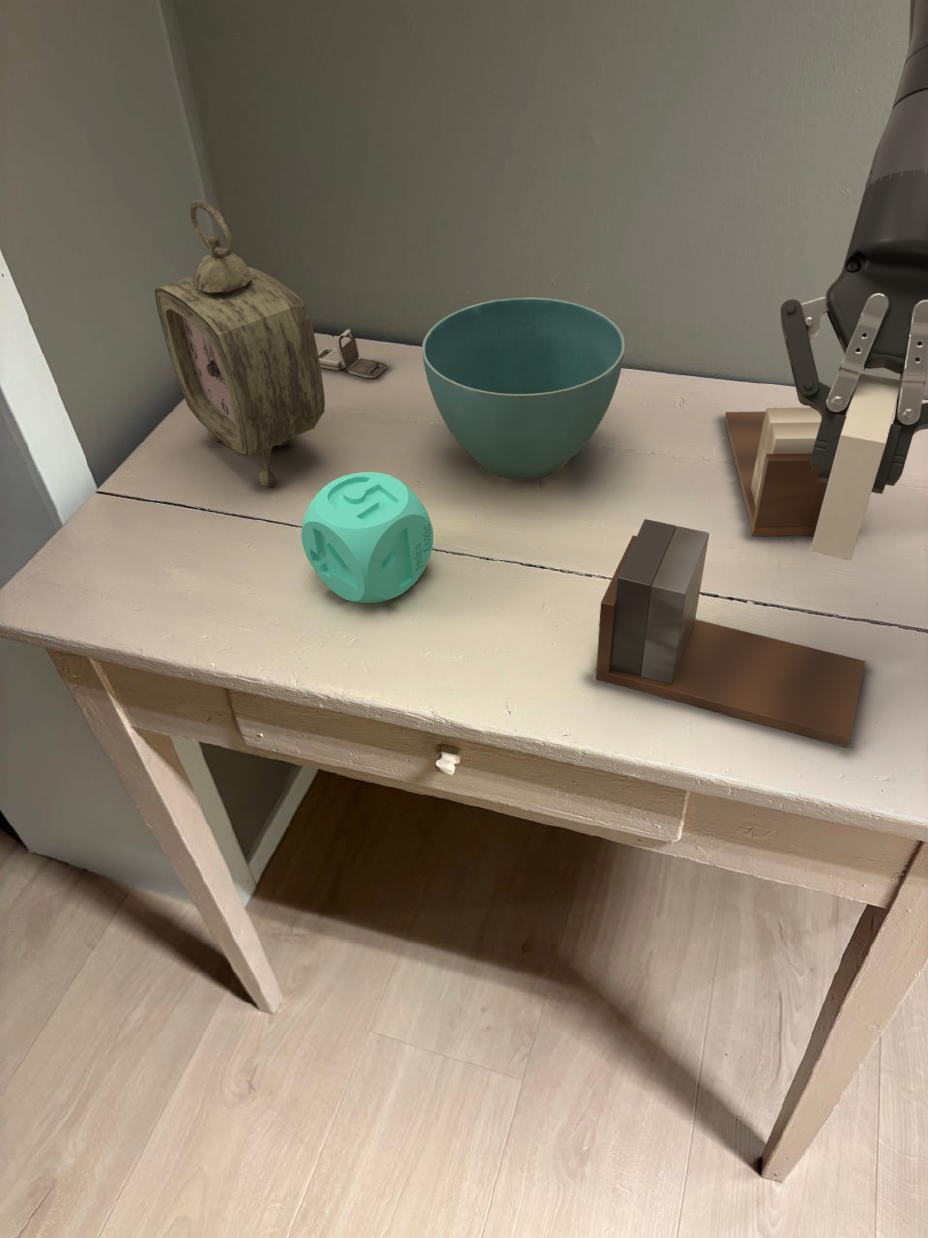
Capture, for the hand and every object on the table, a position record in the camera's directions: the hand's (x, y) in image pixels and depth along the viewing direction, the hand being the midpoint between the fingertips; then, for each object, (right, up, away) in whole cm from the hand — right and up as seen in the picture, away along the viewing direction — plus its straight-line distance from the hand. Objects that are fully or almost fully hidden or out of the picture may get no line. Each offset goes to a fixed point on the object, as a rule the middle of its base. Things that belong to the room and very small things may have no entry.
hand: (850, 484), depth 57 cm
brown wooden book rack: (+7, +6, +34) cm, 35 cm away
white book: (+1, -2, +4) cm, 5 cm away
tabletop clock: (-43, +9, +41) cm, 60 cm away
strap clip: (-36, +21, +53) cm, 67 cm away
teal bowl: (-17, +8, +38) cm, 43 cm away
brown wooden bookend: (-3, -12, +16) cm, 20 cm away
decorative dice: (-31, -4, +27) cm, 41 cm away
